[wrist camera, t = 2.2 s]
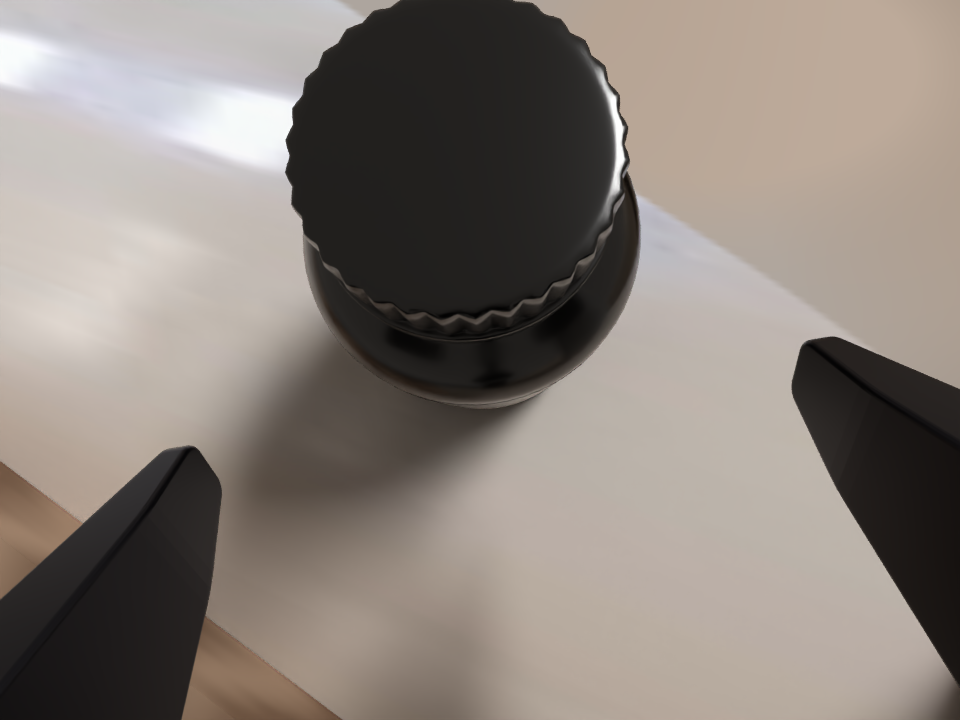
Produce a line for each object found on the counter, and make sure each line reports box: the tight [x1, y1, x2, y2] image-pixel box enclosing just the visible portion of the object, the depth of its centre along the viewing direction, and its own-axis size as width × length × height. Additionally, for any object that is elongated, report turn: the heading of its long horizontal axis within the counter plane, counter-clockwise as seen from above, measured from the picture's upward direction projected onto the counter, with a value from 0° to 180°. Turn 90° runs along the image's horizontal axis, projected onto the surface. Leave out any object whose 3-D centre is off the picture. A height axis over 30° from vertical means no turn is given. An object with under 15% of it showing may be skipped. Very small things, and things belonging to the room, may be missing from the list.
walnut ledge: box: [0, 462, 342, 720], centre depth 17 cm, size 20×9×3 cm, turn 56°
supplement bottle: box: [285, 0, 641, 409], centre depth 14 cm, size 7×7×12 cm
